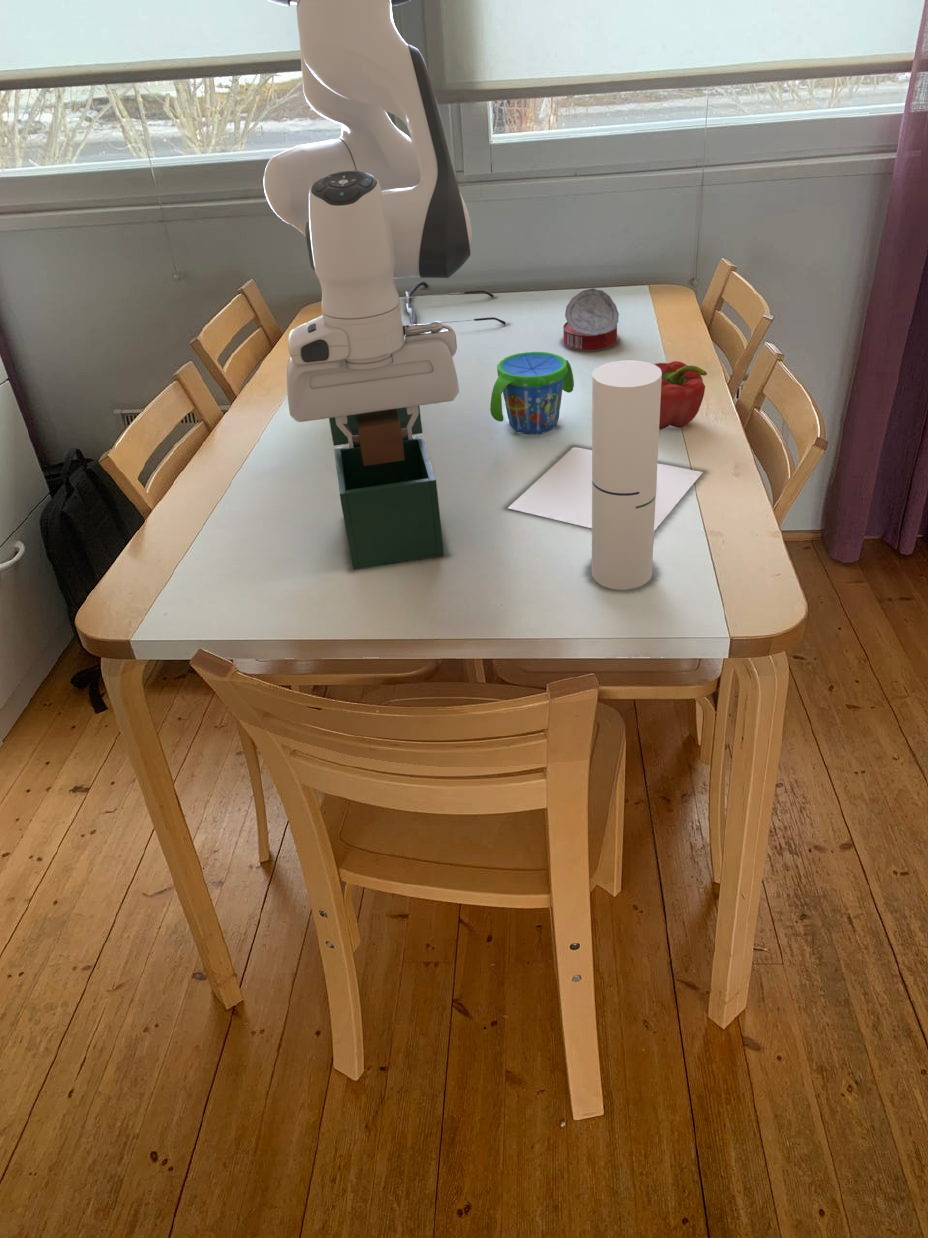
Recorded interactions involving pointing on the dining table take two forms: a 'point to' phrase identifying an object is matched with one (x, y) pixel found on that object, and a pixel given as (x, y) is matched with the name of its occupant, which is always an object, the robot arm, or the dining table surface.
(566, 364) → the snack cup
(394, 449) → the block
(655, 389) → the cylindrical container
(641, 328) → the dining table surface
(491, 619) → the dining table surface
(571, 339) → the canned food
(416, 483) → the dark green hollow box
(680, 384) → the vegetable
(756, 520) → the dining table surface
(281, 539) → the dining table surface
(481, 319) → the eyeglasses
